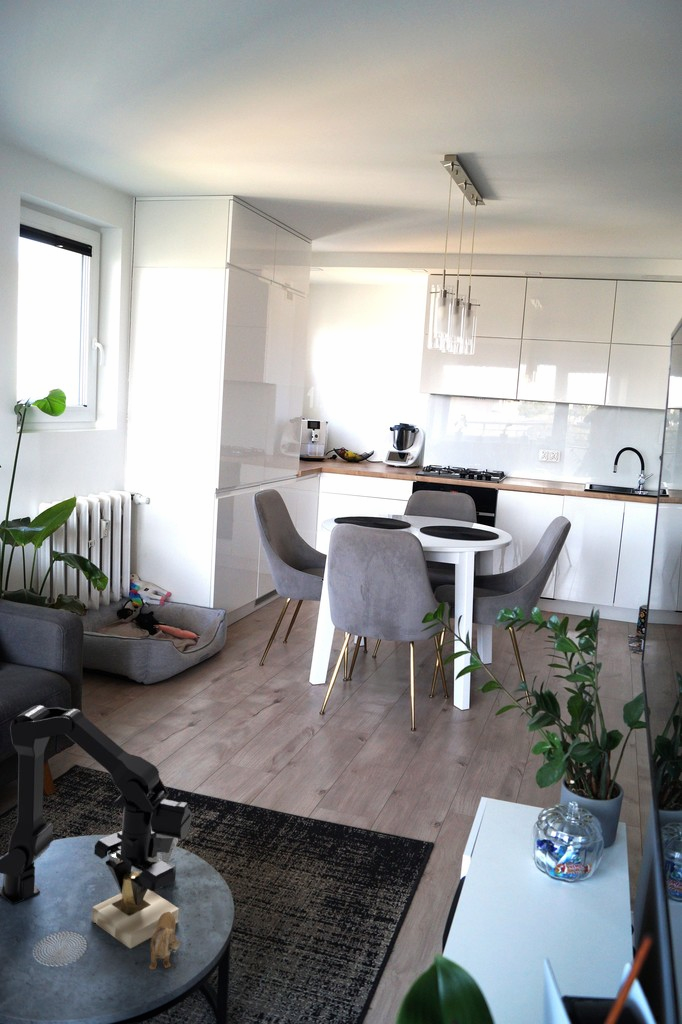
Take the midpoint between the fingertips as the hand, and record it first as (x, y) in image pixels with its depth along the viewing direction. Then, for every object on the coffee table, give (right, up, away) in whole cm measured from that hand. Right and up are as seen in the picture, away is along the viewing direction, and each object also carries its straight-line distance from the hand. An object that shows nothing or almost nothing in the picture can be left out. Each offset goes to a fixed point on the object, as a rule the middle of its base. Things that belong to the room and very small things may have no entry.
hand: (131, 899), depth 174 cm
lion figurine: (+9, -7, -10) cm, 15 cm away
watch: (+2, -2, +15) cm, 15 cm away
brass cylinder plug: (0, -2, 0) cm, 2 cm away
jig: (+1, -4, 0) cm, 4 cm away
